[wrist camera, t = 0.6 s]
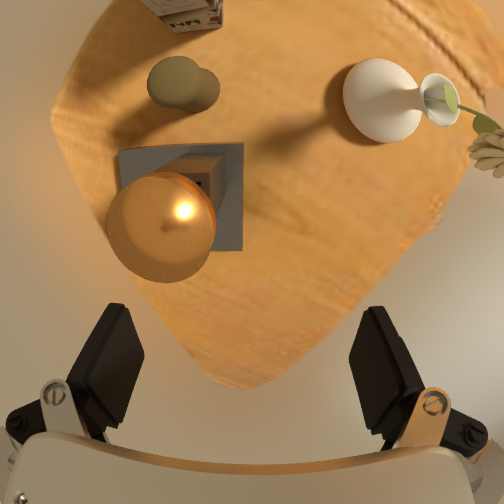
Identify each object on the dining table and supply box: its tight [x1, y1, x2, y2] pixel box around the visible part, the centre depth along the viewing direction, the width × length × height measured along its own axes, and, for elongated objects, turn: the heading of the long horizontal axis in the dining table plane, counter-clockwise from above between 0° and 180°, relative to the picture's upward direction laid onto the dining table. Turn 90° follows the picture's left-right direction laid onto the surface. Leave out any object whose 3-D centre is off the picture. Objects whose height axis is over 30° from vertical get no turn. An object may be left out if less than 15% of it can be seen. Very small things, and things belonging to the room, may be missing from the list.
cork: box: [147, 56, 220, 113], centre depth 24 cm, size 6×6×11 cm
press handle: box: [107, 171, 216, 283], centre depth 22 cm, size 7×7×13 cm
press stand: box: [118, 143, 244, 251], centre depth 29 cm, size 14×16×14 cm
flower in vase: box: [343, 58, 504, 178], centre depth 18 cm, size 13×11×25 cm
